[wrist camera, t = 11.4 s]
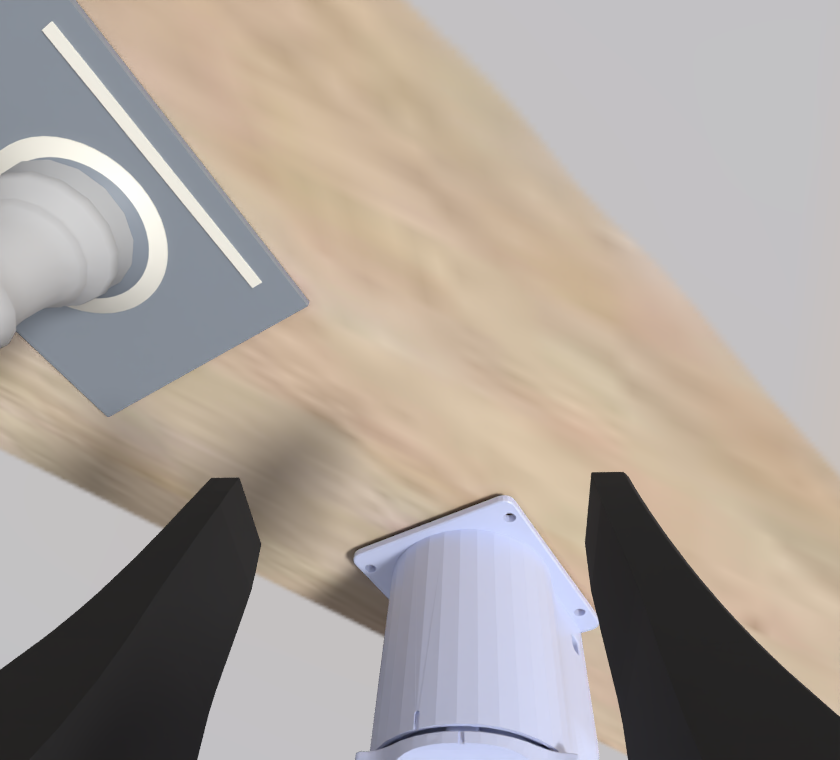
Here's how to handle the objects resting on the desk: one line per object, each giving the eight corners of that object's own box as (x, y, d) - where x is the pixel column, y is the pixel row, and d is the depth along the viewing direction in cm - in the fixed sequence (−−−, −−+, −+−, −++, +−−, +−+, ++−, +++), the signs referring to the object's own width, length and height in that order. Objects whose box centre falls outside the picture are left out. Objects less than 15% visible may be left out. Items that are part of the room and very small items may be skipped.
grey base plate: (309, 301, 22) (306, 307, 22) (111, 412, 26) (106, 418, 26) (33, -54, 17) (25, -54, 17) (-171, 146, 20) (-181, 150, 20)
